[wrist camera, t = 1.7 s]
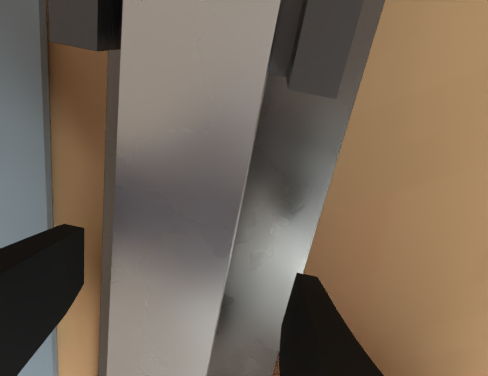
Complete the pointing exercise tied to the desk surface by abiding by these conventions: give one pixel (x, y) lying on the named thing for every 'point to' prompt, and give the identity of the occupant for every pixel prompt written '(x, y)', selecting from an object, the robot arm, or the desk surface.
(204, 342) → the rail
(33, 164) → the mat
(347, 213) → the desk surface
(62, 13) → the hook rack
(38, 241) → the robot arm
